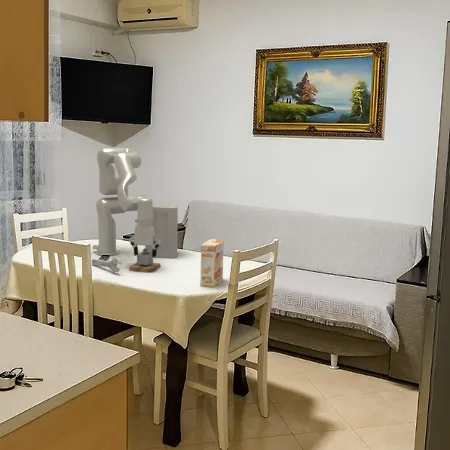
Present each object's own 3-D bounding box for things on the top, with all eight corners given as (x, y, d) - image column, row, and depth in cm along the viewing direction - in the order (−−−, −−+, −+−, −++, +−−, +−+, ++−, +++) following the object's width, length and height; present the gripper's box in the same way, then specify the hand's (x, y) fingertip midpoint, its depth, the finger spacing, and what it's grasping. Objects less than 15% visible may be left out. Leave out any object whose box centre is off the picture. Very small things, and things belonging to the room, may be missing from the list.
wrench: (92, 269, 308) (122, 274, 286) (88, 269, 307) (119, 274, 285) (90, 253, 308) (121, 257, 285) (87, 254, 306) (118, 258, 284)
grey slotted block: (137, 264, 296) (136, 254, 296) (141, 261, 302) (141, 251, 301) (148, 265, 295) (148, 255, 294) (152, 262, 301) (152, 252, 300)
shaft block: (129, 270, 295) (129, 250, 293) (138, 265, 306) (138, 245, 304) (151, 272, 292) (151, 252, 290) (160, 267, 303) (160, 247, 301)
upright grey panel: (160, 260, 317) (160, 209, 312) (144, 255, 328) (144, 205, 323) (188, 256, 329) (188, 206, 324) (172, 251, 340) (172, 203, 335)
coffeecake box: (214, 287, 269) (215, 245, 265) (199, 286, 271) (200, 244, 267) (223, 279, 283) (224, 239, 280) (209, 278, 285) (209, 238, 281)
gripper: (125, 222, 293) (126, 256, 296) (158, 224, 289) (158, 258, 292) (132, 220, 301) (132, 253, 304) (163, 222, 296) (163, 255, 299)
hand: (145, 255), depth 298 cm, fingers open, 9 cm apart
